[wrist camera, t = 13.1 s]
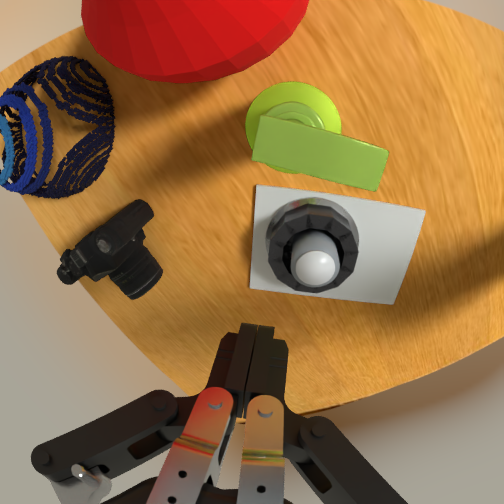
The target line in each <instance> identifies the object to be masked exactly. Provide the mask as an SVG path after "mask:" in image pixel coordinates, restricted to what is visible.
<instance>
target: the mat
mask: <svg viewBox="0 0 504 504" xmlns="http://www.w3.org/2000/svg"><path fill="white" fill-rule="evenodd" d="M305 197H320V198H325V199H328V200H331V201H334V202H336V203H338V204H339V205H341V206H342V207H343V208H344V209H346V210H347V211H348V213H349V214H350V215H351V216H352V218H353V220H354V221H355V224H356V226H357V229H358V233H359V246H358V251H359V253H358V257H357V261H356V265H355V268H354V272H353V273H352V274H351V275H350V276H349V277H348V278H347V279H346V280H345V281H344V282H343V283H342V284H341V285H340V286H339V287H336V288H333V289H330V290H327V291H324V292H320V293H309V292H301V291H295V290H293V289H292V288H290V287H288V286H287V285H285V284H284V283H282V282H281V281H279V280H277V278H276V276H275V274H274V272H273V270H272V268H271V266H270V265H269V263H268V254H267V250H266V244H265V237H266V231H267V228H268V225H269V223H270V221H271V219H272V217H273V216H274V215H275V213H276V212H277V211H278V210H279V209H281V208H282V207H283V206H284V205H286V204H288V203H289V202H292V201H294V200H297V199H300V198H305ZM425 212H426V211H425V210H423V209H418V208H413V207H408V206H402V205H397V204H392V203H386V202H381V201H375V200H369V199H363V198H357V197H351V196H344V195H338V194H331V193H324V192H317V191H310V190H302V189H294V188H286V187H277V186H268V185H259V184H257V185H256V200H255V215H254V230H253V245H252V260H251V275H250V288H252V289H260V290H267V291H275V292H282V293H290V294H298V295H306V296H315V297H323V298H332V299H341V300H350V301H360V302H370V303H380V304H390V305H393V304H394V301H395V299H396V297H397V294H398V292H399V289H400V287H401V284H402V281H403V279H404V276H405V273H406V271H407V268H408V265H409V262H410V260H411V257H412V254H413V251H414V248H415V245H416V242H417V239H418V236H419V232H420V229H421V226H422V223H423V219H424V216H425Z"/></svg>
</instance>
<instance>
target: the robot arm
mask: <svg viewBox="0 0 504 504" xmlns="http://www.w3.org/2000/svg"><path fill="white" fill-rule="evenodd" d="M257 327H258V331H257ZM274 329H275V327H269V326H262V325H259V326H258V325H254V324H248V323H241V326H240V330H239V334H237V333H231V332H228V333H227V334H226V335H225V336H224V337H223V338H222V339H221V342H220V345H219V348H218V351H217V354H216V358H215V361H214V364H213V367H212V370H211V373H210V377H209V380H208V383H207V385H206V387H205V389H204V390H203V391H202V392H200V393H199V394H197V395H194V396H190V397H174V395H173V394H171V393H170V392H168V391H165V390H154V391H151V392H149V393H148V394H146V395H144V396H142V397H140V398H138V399H136V400H134V401H132V402H130V403H128V404H126V405H124V406H122V407H120V408H118V409H116V410H114V411H112V412H111V413H108V414H107V415H104V416H102V417H100V418H98V419H96V420H94V421H92V422H90V423H88V424H85V425H84V426H81V427H79V428H77V429H75V430H72V431H70V432H68V433H66V434H64V435H61V436H59V437H56V438H54V439H52V440H50V441H47V442H45V443H42V444H40V445H38V446H36V447H35V448H34V450H33V451H32V454H31V462H32V465H33V467H34V468H35V470H36V471H38V472H39V473H41V474H42V475H44V476H45V477H46V478H47V479H49V480H50V482H51V484H52V486H53V488H54V490H55V492H56V494H57V496H58V498H59V500H60V502H61V504H99V503H100V501H101V499H102V498H103V497H105V496H106V495H107V494H109V492H110V490H111V487H112V483H111V479H113V478H115V477H117V476H119V475H121V474H123V473H125V472H127V471H129V470H131V469H133V468H135V467H137V466H139V465H141V464H143V463H144V462H146V461H148V460H150V459H152V458H153V457H155V456H157V455H159V454H161V453H163V452H164V451H166V450H168V449H169V448H171V449H170V451H169V453H168V456H167V458H166V460H165V462H164V465H163V467H162V469H161V471H160V474H159V476H158V477H153V478H149V479H147V480H145V481H142V482H141V483H139V484H137V485H135V486H133V487H132V488H130V489H128V490H126V491H124V492H122V493H121V494H119V495H117V496H115V497H113V498H111V499H109V500H107V501H105V502H103V503H101V504H293V503H292V502H290V501H288V500H286V499H284V474H285V472H284V471H285V459H284V457H285V458H288V459H289V460H290V462H291V463H292V464H293V466H294V467H295V468H296V470H297V471H298V472H299V473H300V475H301V476H302V477H303V479H304V480H305V481H306V482H307V483H308V485H309V486H310V487H311V488H312V490H313V491H314V492H315V493H316V495H317V496H318V497H319V498H320V499H321V501H322V502H323V503H324V504H408V503H407V502H406V501H405V500H404V499H403V498H402V497H401V496H400V495H399V494H398V493H397V492H396V491H395V490H394V489H393V488H392V487H391V486H390V485H389V484H388V483H387V482H386V480H385V479H383V477H382V476H381V475H380V474H379V473H378V472H377V471H376V470H375V469H374V468H373V467H372V466H371V465H370V463H369V462H368V461H367V460H366V459H365V458H364V457H363V456H362V455H361V454H360V453H359V451H358V450H357V449H356V448H355V447H354V446H353V445H352V444H351V443H350V442H349V440H348V439H347V438H346V437H345V436H344V435H343V434H342V433H341V431H340V430H339V429H338V428H337V427H336V426H335V425H334V423H333V422H332V421H331V420H329V419H327V418H325V417H321V416H314V417H310V418H308V419H307V418H305V417H303V416H300V415H298V414H295V413H294V412H292V411H291V410H290V409H289V408H288V407H287V405H286V404H285V400H284V393H285V383H286V373H287V362H288V351H289V349H288V347H287V344H286V342H285V340H279V339H273V336H274ZM243 409H244V415H243V418H245V419H246V426H245V435H244V444H243V453H242V461H241V470H240V479H239V488H238V489H226V490H223V489H219V488H217V487H216V485H217V482H218V479H219V475H220V470H221V466H222V463H223V460H224V457H225V454H226V451H227V448H228V445H229V442H230V439H231V436H232V432H233V429H234V426H235V422H236V417H238V418H242V414H243Z"/></svg>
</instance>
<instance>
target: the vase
mask: <svg viewBox="0 0 504 504" xmlns="http://www.w3.org/2000/svg"><path fill="white" fill-rule="evenodd" d="M308 2H309V0H82V10H81V17H82V21H83V25H84V29H85V33H86V36H87V38H88V39H89V41H90V42H91V44H92V45H93V47H94V49H95V50H96V52H97V53H98V54H100V55H101V56H102V57H104V58H105V59H106V60H108V61H109V62H110V63H111V64H113V65H114V66H116V67H118V68H120V69H122V70H124V71H126V72H129V73H132V74H134V75H137V76H140V77H142V78H145V79H147V80H150V81H161V82H171V83H192V82H200V81H210V80H216V79H219V78H222V77H225V76H228V75H231V74H234V73H238V72H241V71H244V70H245V69H247V68H249V67H250V66H252V65H254V64H256V63H257V62H259V61H261V60H263V59H265V58H266V57H268V56H270V55H271V54H272V53H273V52H274V51H275V50H276V49H277V48H278V47H279V46H281V45H282V44H283V43H284V42H285V41H286V40H287V39H288V38H290V37H291V35H292V34H293V32H294V31H295V29H296V28H297V26H298V24H299V23H300V21H301V20H302V18H303V17H304V15H305V13H306V10H307V6H308Z"/></svg>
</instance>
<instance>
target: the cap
mask: <svg viewBox="0 0 504 504" xmlns="http://www.w3.org/2000/svg"><path fill="white" fill-rule="evenodd" d="M339 268H340V263H339V258H338V253H337V248H336V244H335V239H334V236H333V234H331V233H330V232H329V231H327V230H321V229H314V228H308V229H306V230H303V231H300V232H297V233H295V235H294V237H293V241H292V255H291V272H292V275H293V276H294V278H295V279H296V280H297V281H298V282H299V283H301V284H303V285H305V286H308V287H321V286H324V285H327V284H329V283H330V282H332V281H333V280H334V279H335V278H336V276H337V274H338V272H339Z"/></svg>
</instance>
